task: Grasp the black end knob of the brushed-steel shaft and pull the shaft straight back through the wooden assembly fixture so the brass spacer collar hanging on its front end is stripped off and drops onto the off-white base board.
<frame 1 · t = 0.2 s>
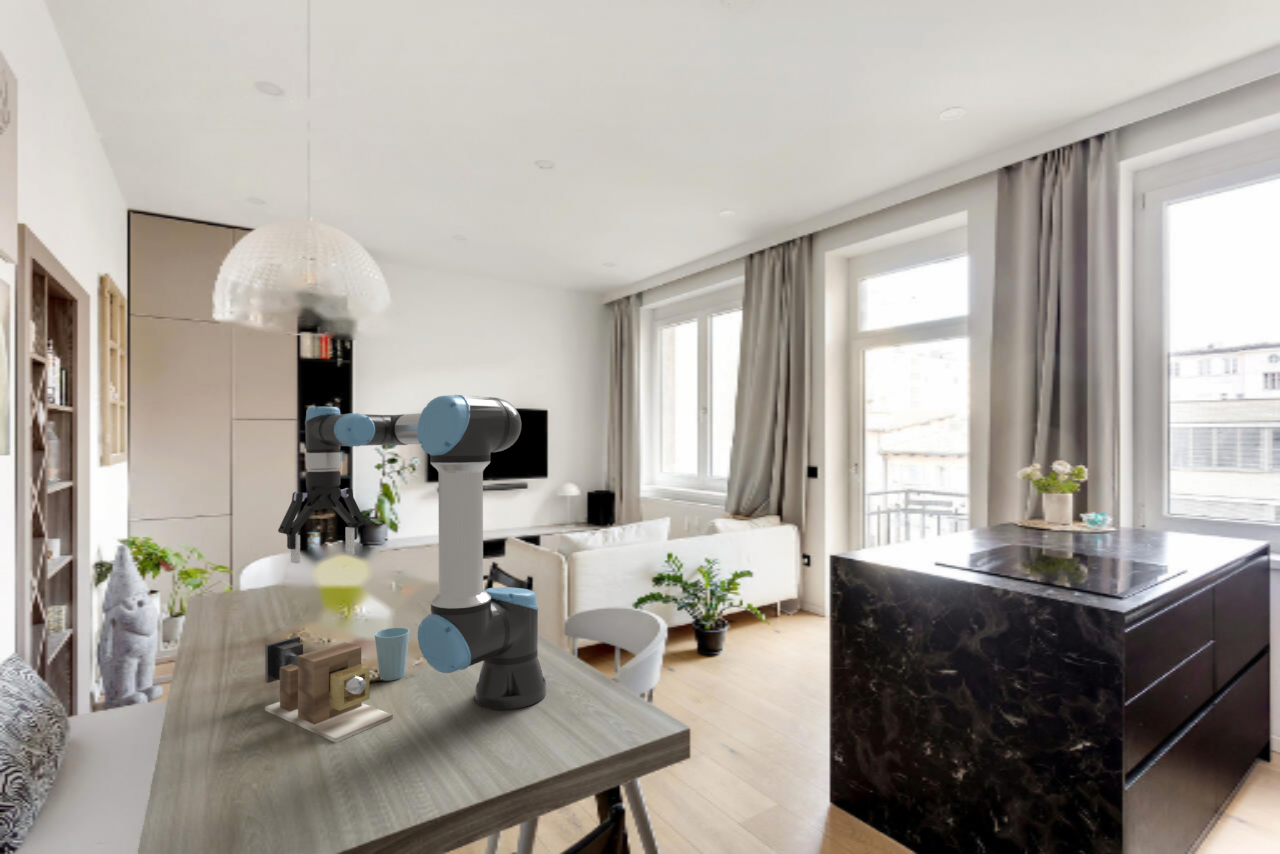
hand: (323, 558, 155), 27 cm above the table, fingers open, 13 cm apart
cup: (392, 677, 151), on the table
spacer: (350, 686, 127), point 7 cm above the table, touching shaft
wooden assembly fixture: (330, 715, 130), on the table
shaft: (318, 671, 133), point 8 cm above the table, slide at 0.0 cm, touching spacer
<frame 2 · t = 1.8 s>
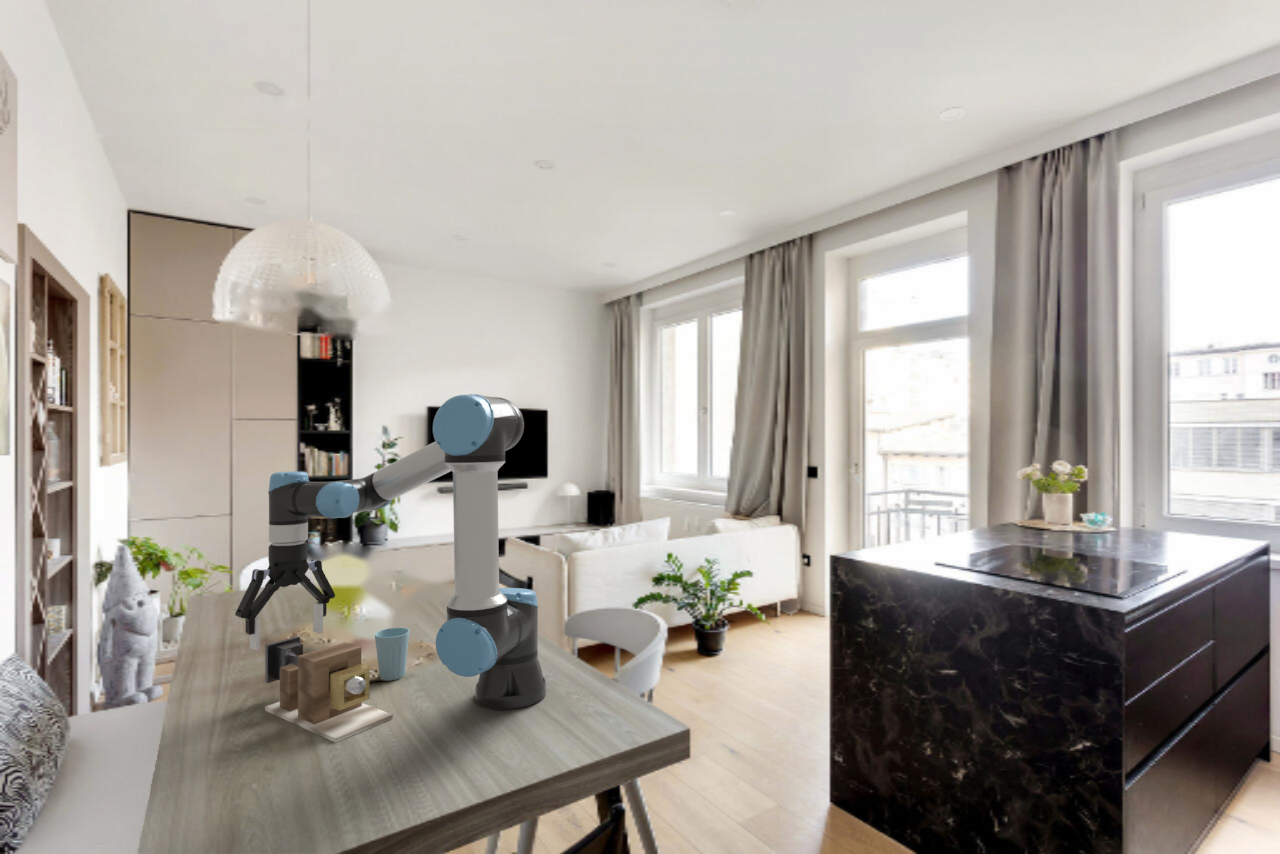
hand: (287, 640, 140), 13 cm above the table, fingers open, 13 cm apart
nothing on the table moved.
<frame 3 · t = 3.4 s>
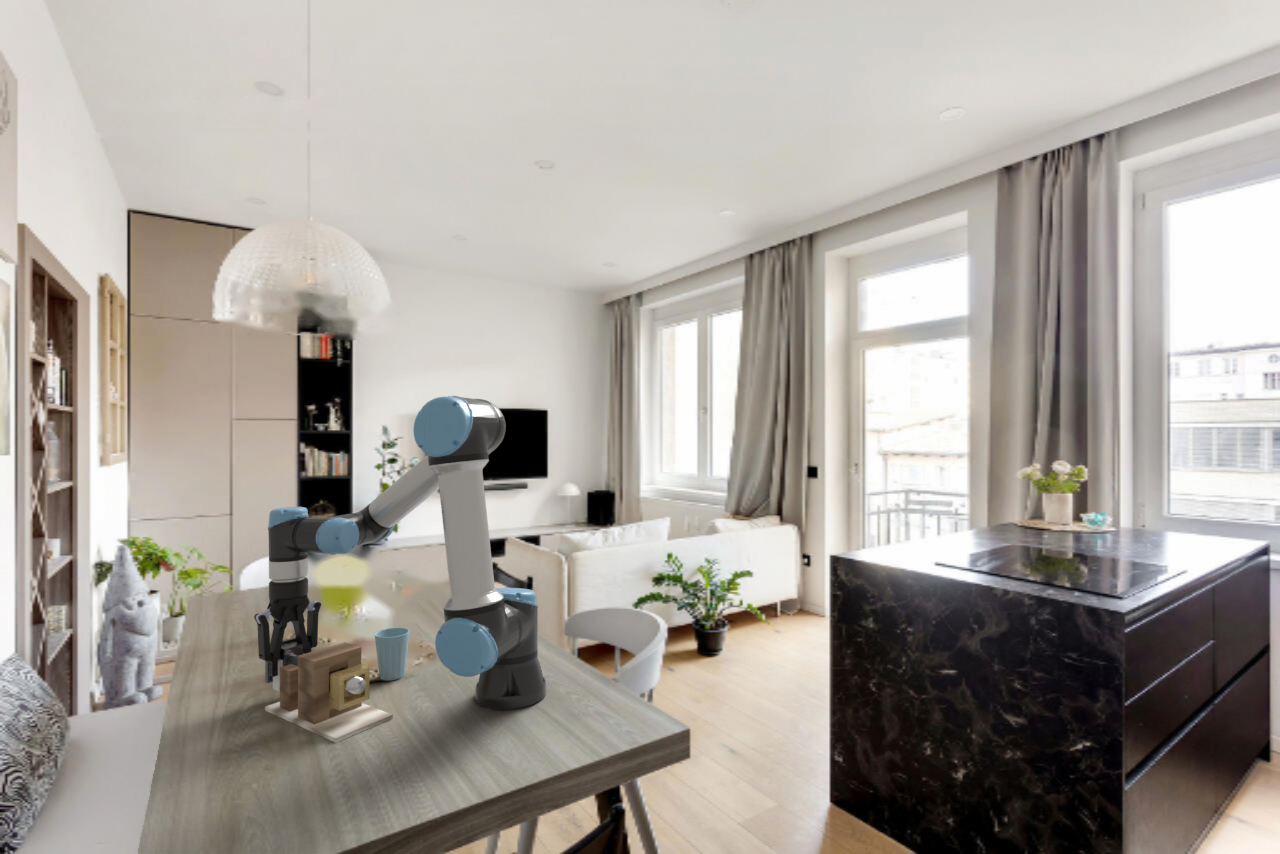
hand: (289, 686, 139), 3 cm above the table, fingers closed on shaft, 4 cm apart
shaft: (318, 671, 133), point 8 cm above the table, slide at 0.0 cm, touching gripper, spacer
everything else where it was.
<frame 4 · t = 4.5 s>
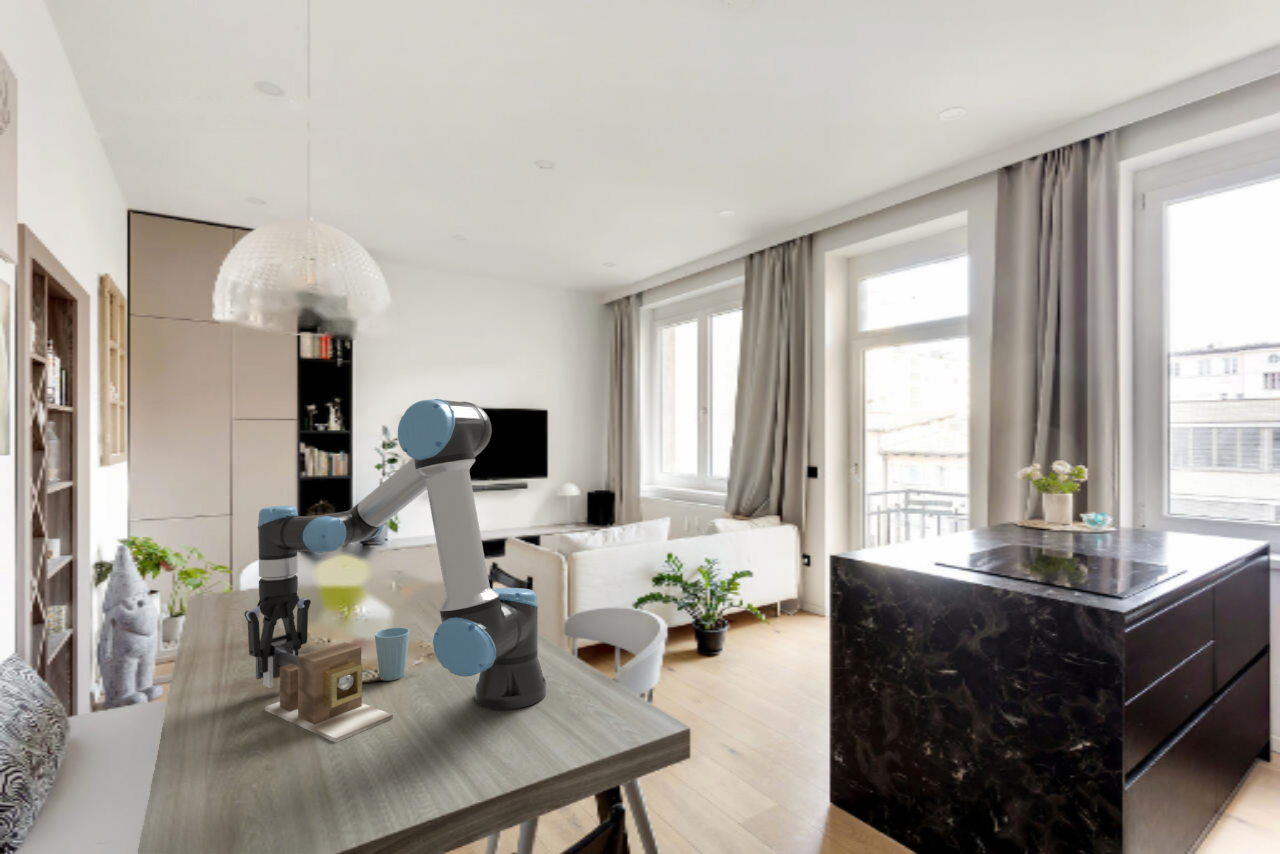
hand: (279, 682, 142), 3 cm above the table, fingers closed on shaft, 4 cm apart
spacer: (342, 684, 128), point 7 cm above the table
shaft: (307, 667, 135), point 8 cm above the table, slide at 4.1 cm, touching gripper
everything else where it was.
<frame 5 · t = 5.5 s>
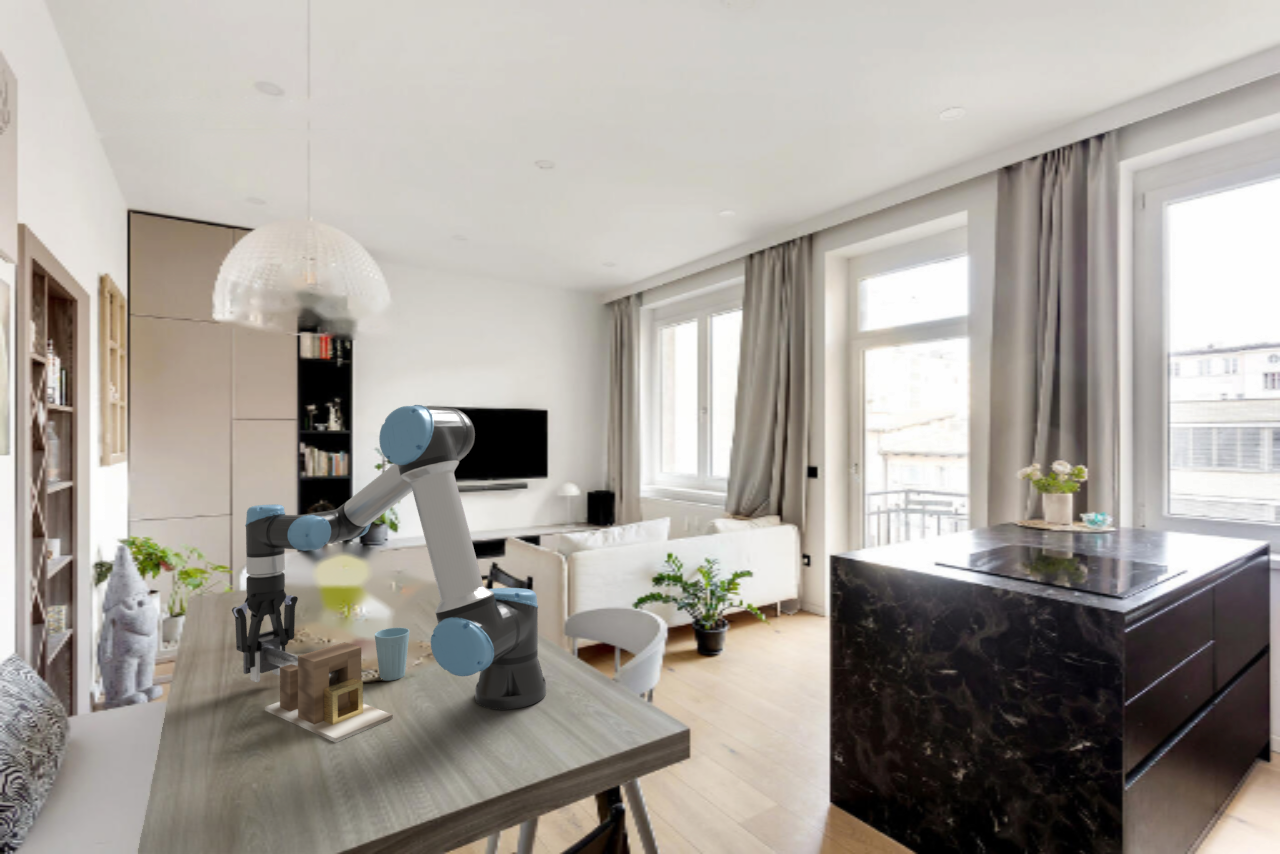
hand: (266, 676, 145), 3 cm above the table, fingers closed on shaft, 4 cm apart
spacer: (343, 701, 128), point 4 cm above the table, touching wooden assembly fixture
shaft: (293, 662, 138), point 8 cm above the table, slide at 9.7 cm, touching gripper
everything else where it was.
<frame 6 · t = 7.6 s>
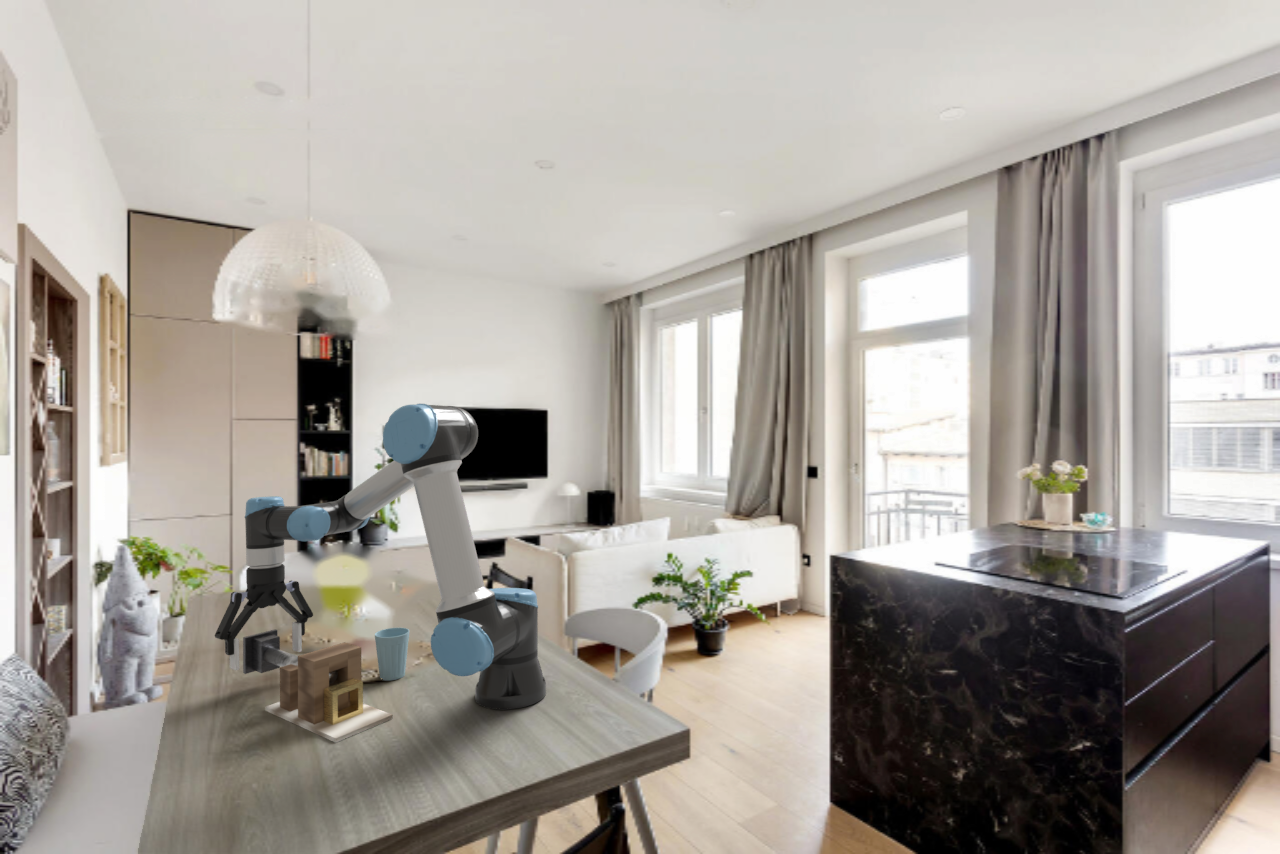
hand: (267, 659, 145), 7 cm above the table, fingers open, 13 cm apart
shaft: (293, 662, 138), point 8 cm above the table, slide at 9.8 cm
everything else where it was.
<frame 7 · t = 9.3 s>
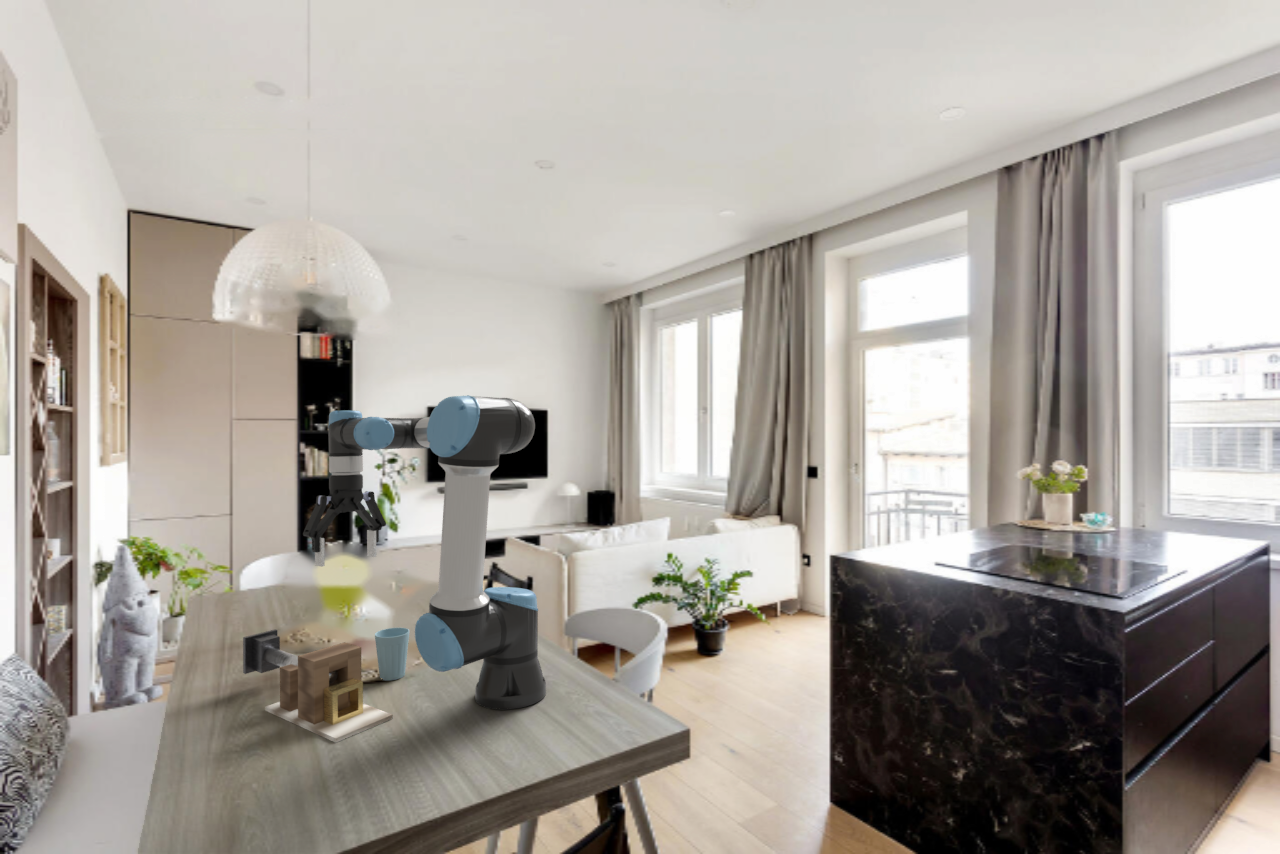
hand: (346, 561, 156), 26 cm above the table, fingers open, 13 cm apart
nothing on the table moved.
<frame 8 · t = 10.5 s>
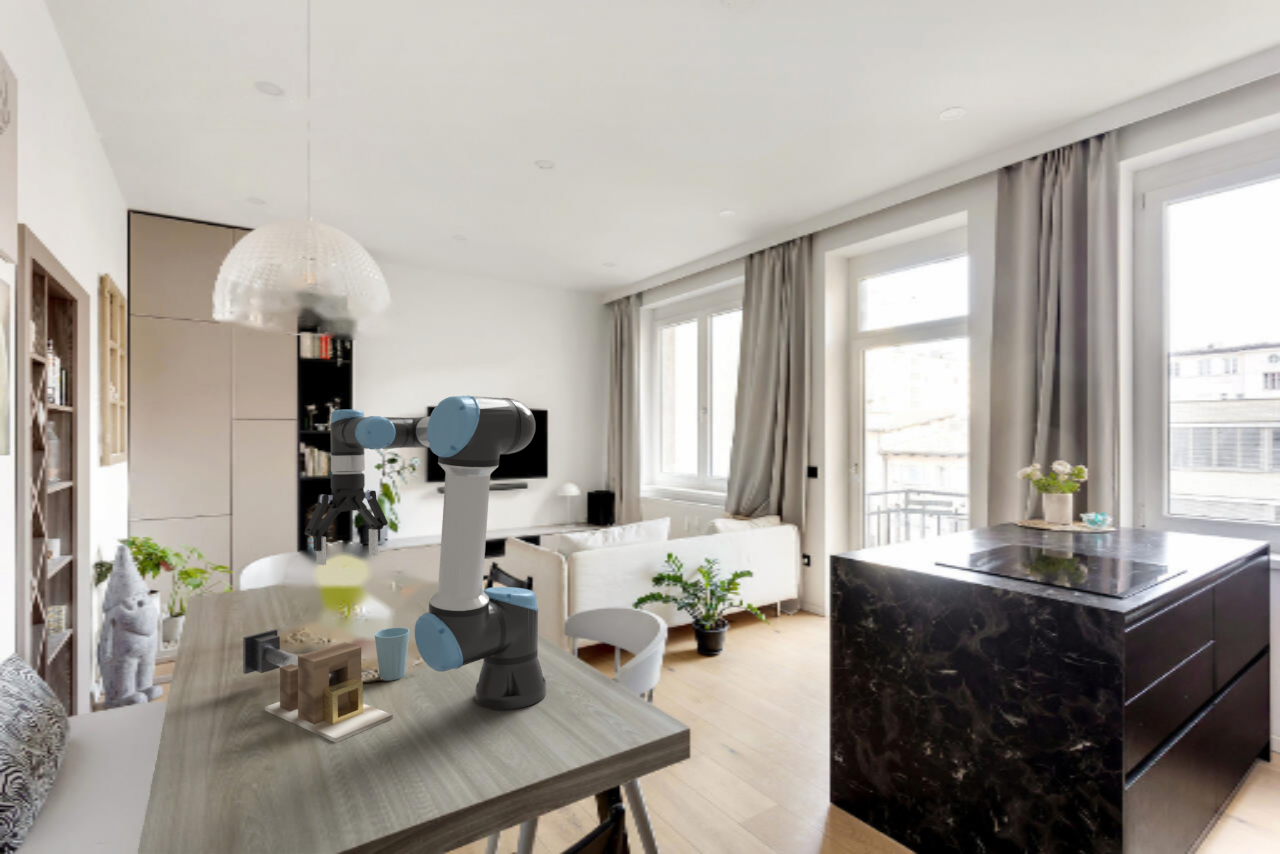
hand: (348, 559, 157), 27 cm above the table, fingers open, 13 cm apart
nothing on the table moved.
at the end: shaft slide at 9.8 cm; spacer point 4.0 cm above the table; spacer touching wooden assembly fixture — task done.
